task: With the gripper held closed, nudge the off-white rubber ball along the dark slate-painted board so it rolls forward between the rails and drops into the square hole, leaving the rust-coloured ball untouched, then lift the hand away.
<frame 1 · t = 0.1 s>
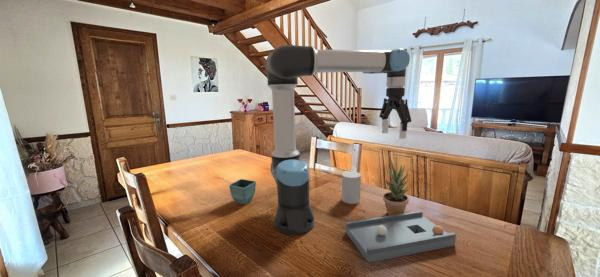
hand: (393, 135, 114), 28 cm above the table, fingers open, 13 cm apart
potted plant: (394, 214, 101), on the table
ball: (381, 230, 83), point 4 cm above the table, touching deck
cup: (351, 200, 115), on the table
flower pot: (244, 202, 116), on the table
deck: (397, 238, 85), on the table
rust ball: (437, 230, 82), point 4 cm above the table, touching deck
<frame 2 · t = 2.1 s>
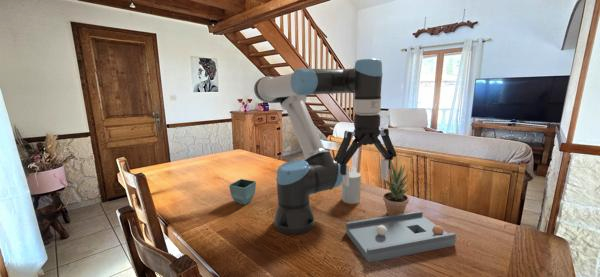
hand: (365, 181, 79), 21 cm above the table, fingers open, 13 cm apart
nothing on the table moved.
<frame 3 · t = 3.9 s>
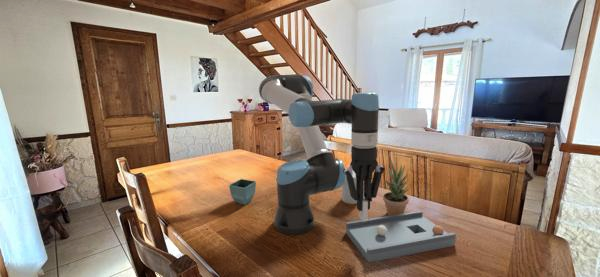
hand: (363, 219, 80), 9 cm above the table, fingers closed
nothing on the table moved.
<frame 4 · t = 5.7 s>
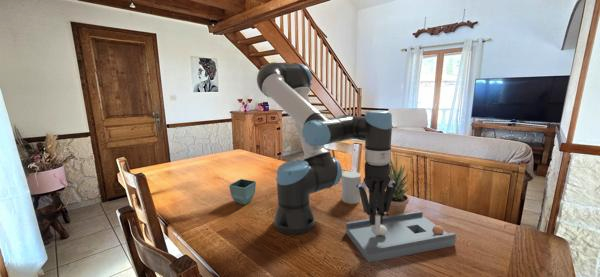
hand: (375, 232, 82), 4 cm above the table, fingers closed
nothing on the table moved.
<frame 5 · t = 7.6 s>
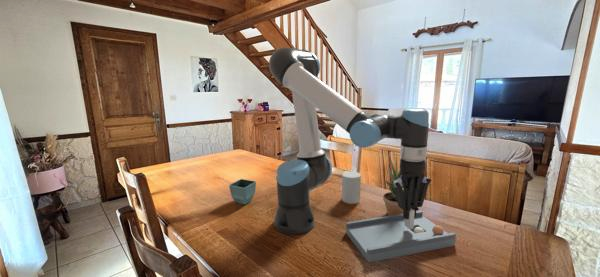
hand: (408, 226, 85), 4 cm above the table, fingers closed
ball: (418, 231, 86), point 2 cm above the table, tilted 173°
everything else where it was.
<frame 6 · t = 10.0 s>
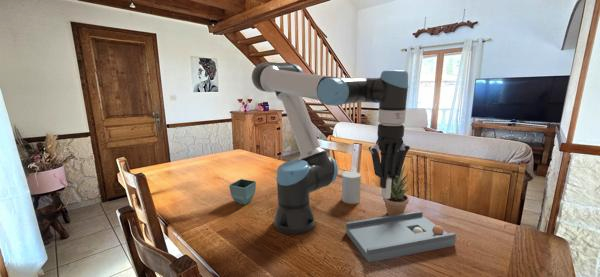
hand: (385, 196, 81), 15 cm above the table, fingers closed
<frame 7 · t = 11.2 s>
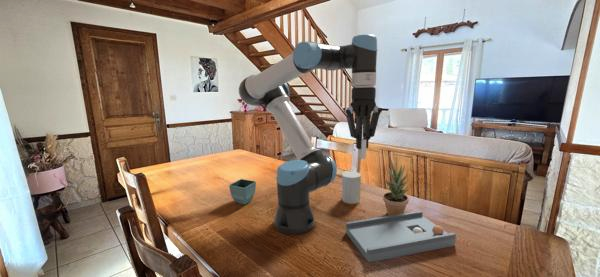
hand: (361, 157, 86), 26 cm above the table, fingers closed
ball: (417, 232, 85), point 2 cm above the table, tilted 170°
everything else where it was.
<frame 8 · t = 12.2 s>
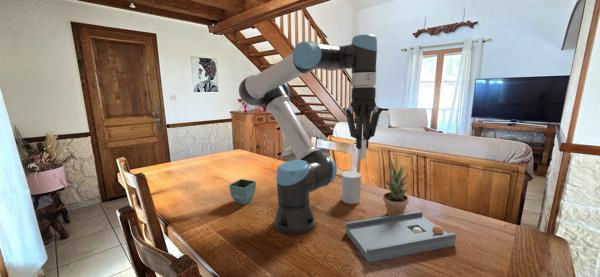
hand: (361, 157, 86), 26 cm above the table, fingers closed
nothing on the table moved.
at the end: ball 0.6 cm from the target spot on the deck, point 1.6 cm above the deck's base; rust ball moved 0.1 cm from its start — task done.
